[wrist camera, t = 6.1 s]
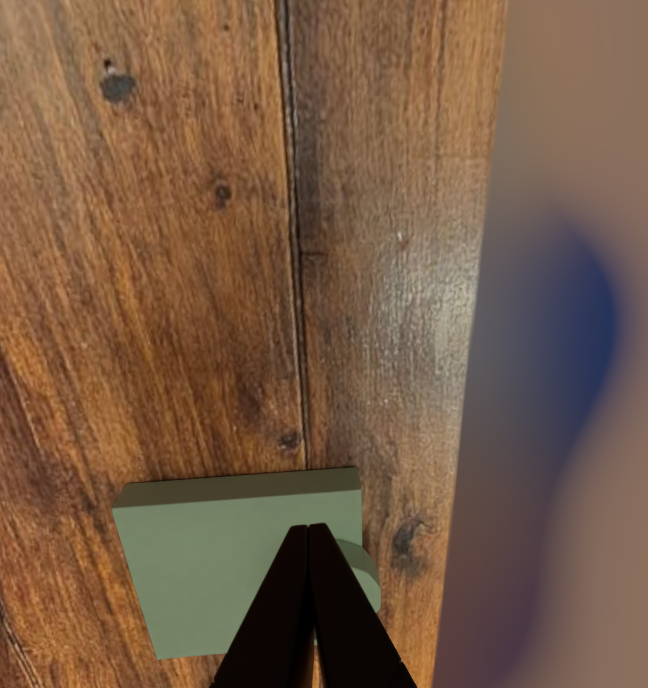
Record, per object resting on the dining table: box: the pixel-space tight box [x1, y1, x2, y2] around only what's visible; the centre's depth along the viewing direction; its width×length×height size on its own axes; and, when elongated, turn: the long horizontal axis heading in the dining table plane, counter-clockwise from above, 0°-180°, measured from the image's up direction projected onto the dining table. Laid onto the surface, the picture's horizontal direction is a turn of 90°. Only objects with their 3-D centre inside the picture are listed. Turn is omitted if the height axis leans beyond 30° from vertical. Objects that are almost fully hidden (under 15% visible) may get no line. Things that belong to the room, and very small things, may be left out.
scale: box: [111, 467, 381, 659], centre depth 22 cm, size 14×12×4 cm
